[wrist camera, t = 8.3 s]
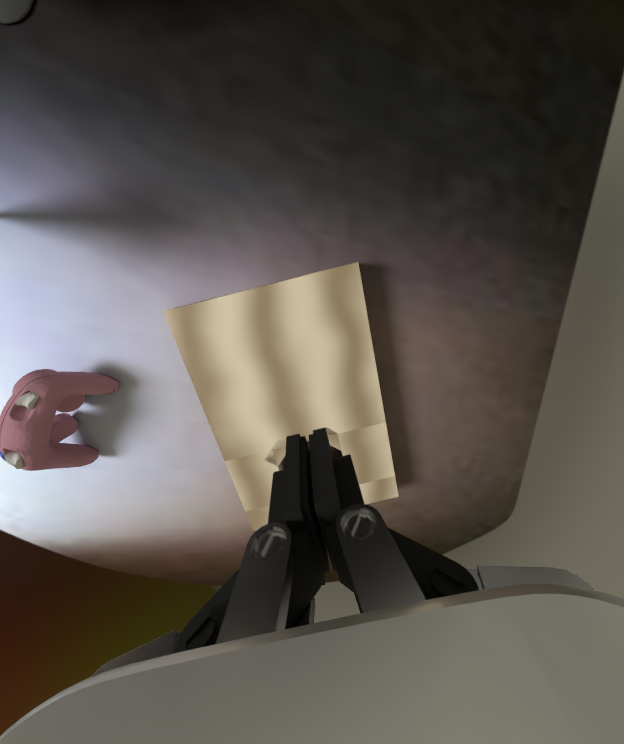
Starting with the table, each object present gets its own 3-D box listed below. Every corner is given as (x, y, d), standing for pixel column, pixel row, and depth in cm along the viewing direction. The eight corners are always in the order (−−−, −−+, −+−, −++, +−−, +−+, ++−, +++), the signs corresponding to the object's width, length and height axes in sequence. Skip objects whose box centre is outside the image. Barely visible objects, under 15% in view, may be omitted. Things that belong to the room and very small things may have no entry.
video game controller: (95, 357, 28) (-3, 364, 21) (126, 381, 27) (32, 396, 20) (73, 438, 31) (-20, 466, 24) (101, 463, 29) (11, 499, 23)
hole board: (352, 262, 25) (358, 262, 23) (391, 480, 33) (398, 496, 31) (175, 307, 25) (163, 311, 23) (256, 512, 33) (253, 530, 31)
